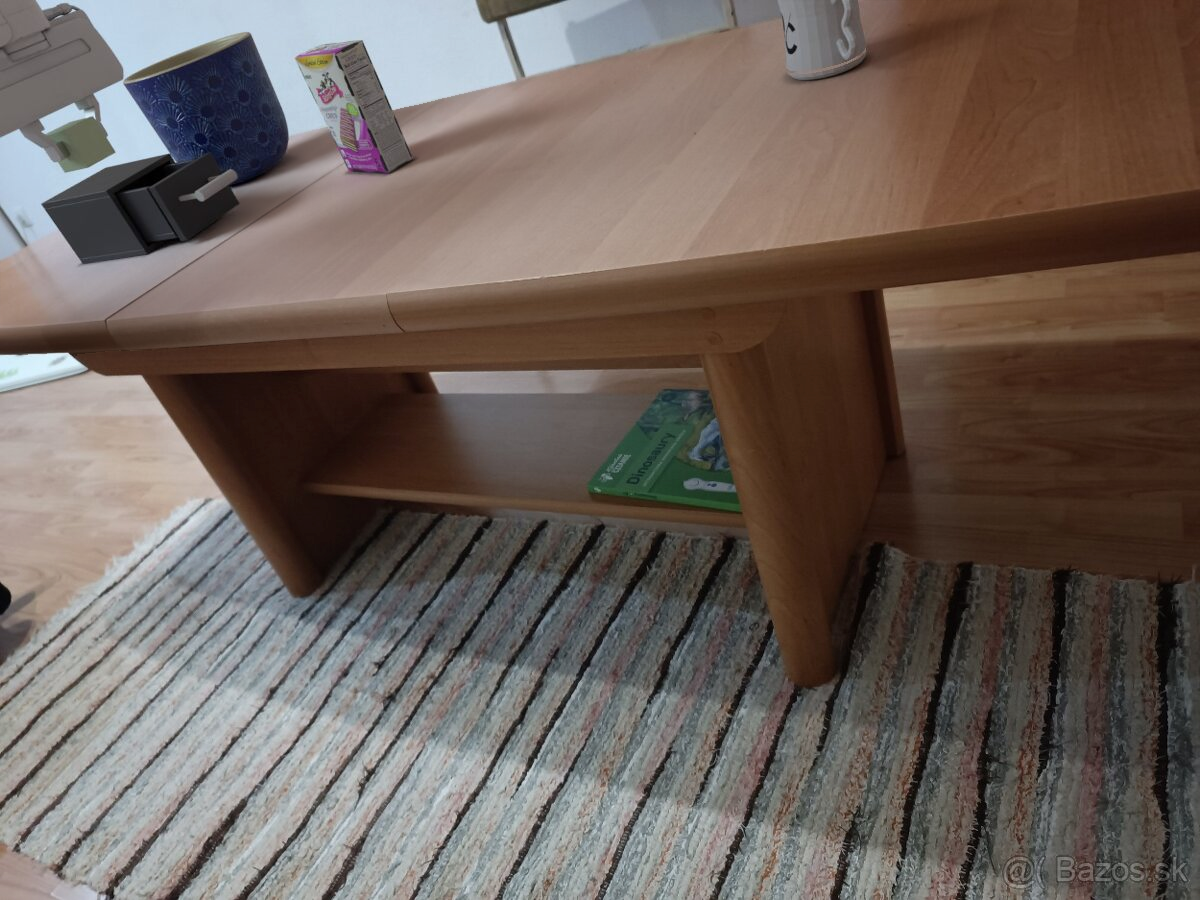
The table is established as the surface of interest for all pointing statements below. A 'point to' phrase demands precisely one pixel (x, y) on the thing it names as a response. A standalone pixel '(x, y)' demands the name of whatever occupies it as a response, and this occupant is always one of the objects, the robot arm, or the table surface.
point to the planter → (215, 106)
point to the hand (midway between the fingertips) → (81, 149)
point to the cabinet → (102, 213)
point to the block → (82, 143)
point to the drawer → (178, 198)
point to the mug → (821, 36)
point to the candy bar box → (354, 106)
